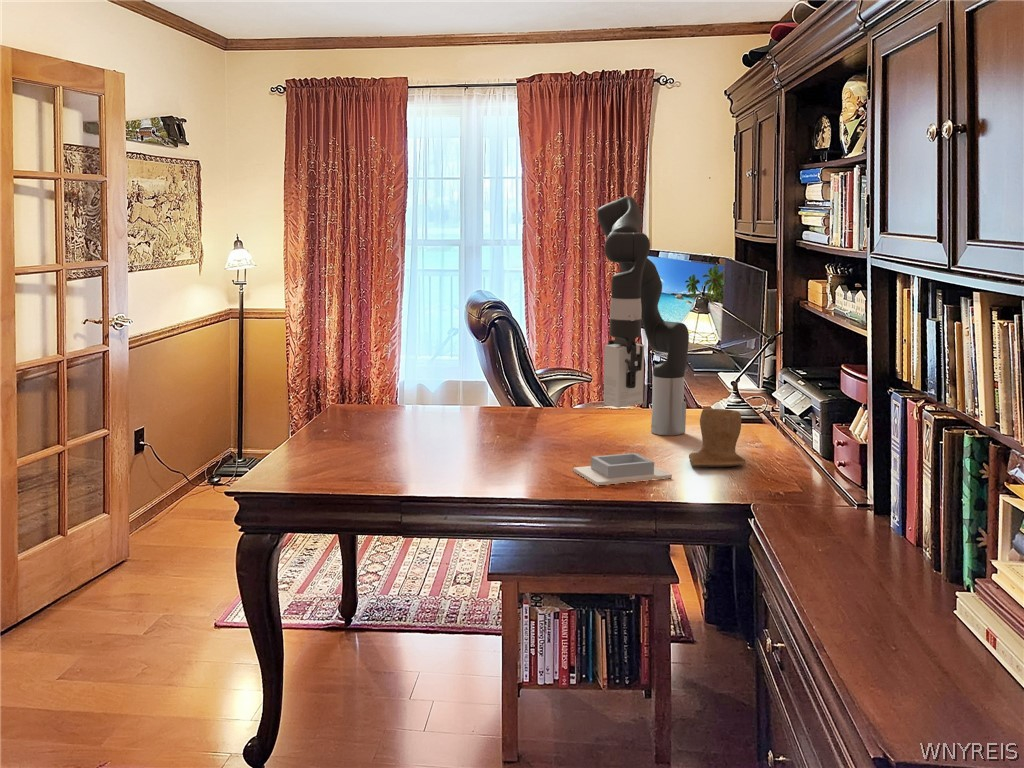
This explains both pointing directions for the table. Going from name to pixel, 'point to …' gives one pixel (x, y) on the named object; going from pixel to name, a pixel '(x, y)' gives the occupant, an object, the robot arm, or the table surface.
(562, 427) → the table surface
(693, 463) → the tan flared vase
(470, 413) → the table surface
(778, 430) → the table surface
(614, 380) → the skincare box
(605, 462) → the socket board
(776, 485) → the table surface
